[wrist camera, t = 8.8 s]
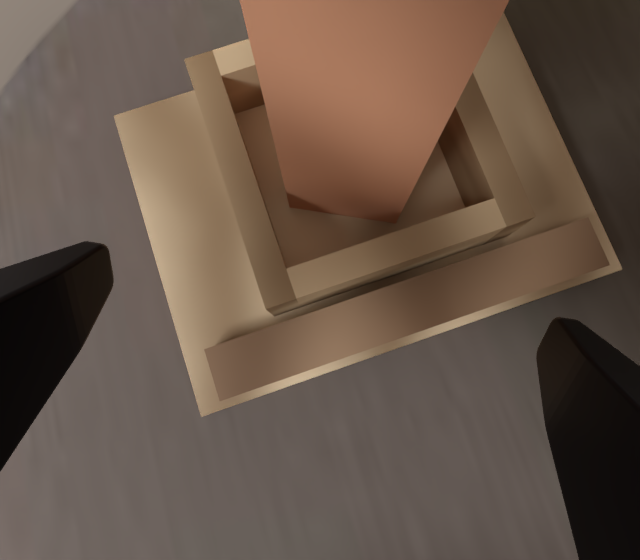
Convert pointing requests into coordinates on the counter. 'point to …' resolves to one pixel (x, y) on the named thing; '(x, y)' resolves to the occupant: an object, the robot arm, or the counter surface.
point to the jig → (350, 228)
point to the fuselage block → (362, 92)
